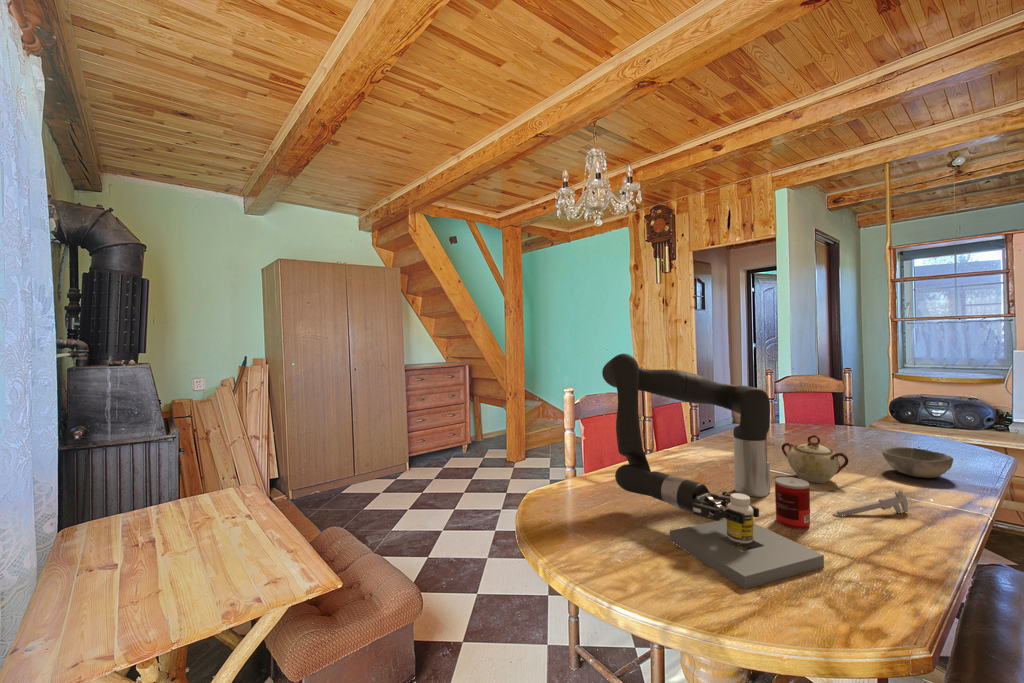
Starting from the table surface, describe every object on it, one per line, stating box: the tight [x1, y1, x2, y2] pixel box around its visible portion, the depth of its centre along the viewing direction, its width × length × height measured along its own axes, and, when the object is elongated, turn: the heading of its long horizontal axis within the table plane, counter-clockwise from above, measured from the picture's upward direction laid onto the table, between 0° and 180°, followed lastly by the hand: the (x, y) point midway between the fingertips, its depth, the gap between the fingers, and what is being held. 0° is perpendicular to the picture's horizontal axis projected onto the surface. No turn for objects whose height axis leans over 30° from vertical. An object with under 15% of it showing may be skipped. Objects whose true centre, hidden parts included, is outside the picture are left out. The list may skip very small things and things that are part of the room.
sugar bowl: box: [781, 434, 849, 484], centre depth 148 cm, size 20×15×15 cm
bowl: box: [881, 446, 954, 479], centre depth 149 cm, size 18×18×8 cm
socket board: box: [669, 519, 825, 590], centre depth 100 cm, size 22×22×2 cm
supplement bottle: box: [726, 492, 754, 543], centre depth 100 cm, size 5×5×10 cm
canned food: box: [774, 476, 811, 530], centre depth 115 cm, size 8×8×11 cm
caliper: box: [832, 490, 909, 517], centre depth 119 cm, size 20×1×6 cm, turn 92°
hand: (751, 516), depth 98 cm, fingers closed on supplement bottle, 5 cm apart
